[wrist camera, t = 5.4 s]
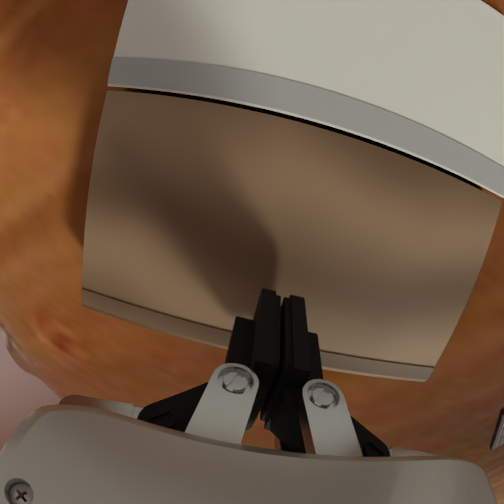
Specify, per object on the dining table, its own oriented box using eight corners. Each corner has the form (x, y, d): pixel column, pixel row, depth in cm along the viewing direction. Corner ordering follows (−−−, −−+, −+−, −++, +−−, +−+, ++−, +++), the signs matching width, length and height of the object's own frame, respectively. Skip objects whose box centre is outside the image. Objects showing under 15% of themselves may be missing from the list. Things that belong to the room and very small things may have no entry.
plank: (122, 95, 12) (106, 89, 11) (484, 196, 13) (502, 201, 11) (96, 293, 15) (81, 306, 14) (416, 366, 16) (425, 382, 14)
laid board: (170, -67, 8) (158, -81, 7) (517, 43, 9) (536, 41, 7) (124, 87, 12) (106, 86, 11) (486, 188, 12) (504, 198, 11)
